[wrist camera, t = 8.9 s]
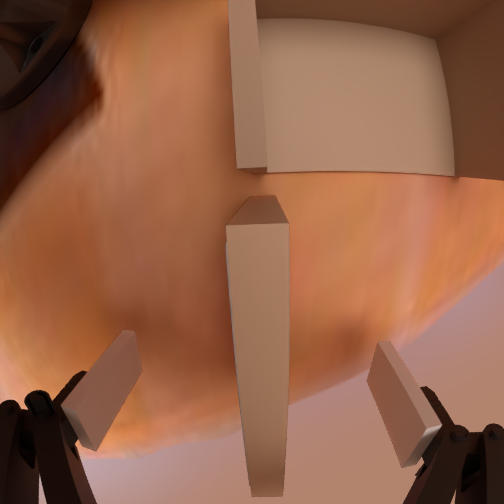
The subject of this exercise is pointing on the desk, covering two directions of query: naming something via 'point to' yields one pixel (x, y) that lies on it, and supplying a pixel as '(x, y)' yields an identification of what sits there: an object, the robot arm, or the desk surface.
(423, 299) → the desk surface
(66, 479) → the robot arm
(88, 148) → the desk surface
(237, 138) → the carton
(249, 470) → the flap
